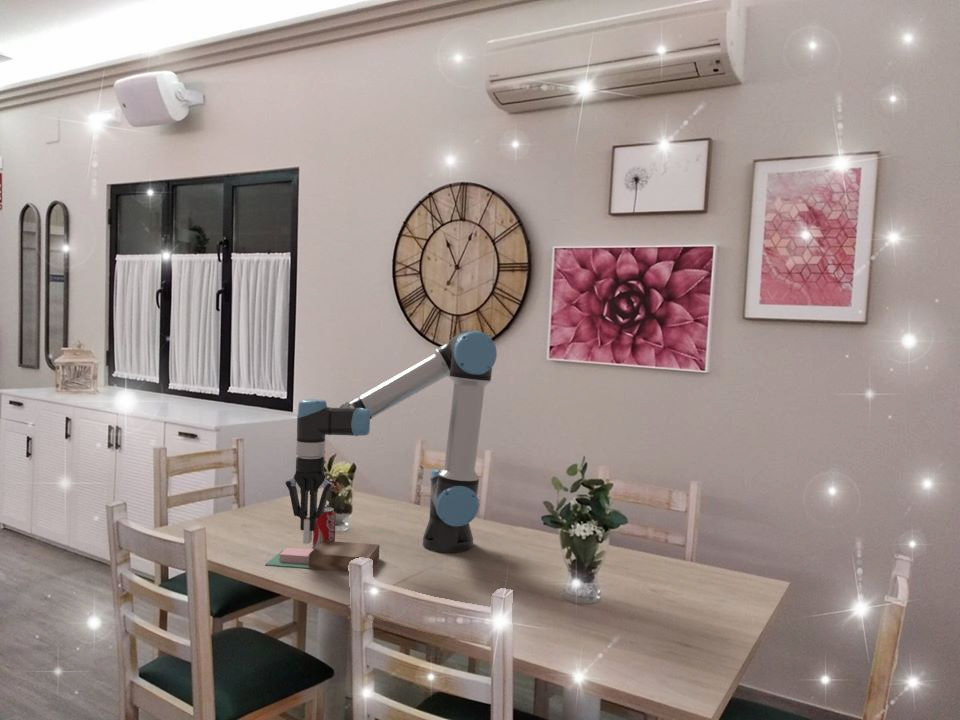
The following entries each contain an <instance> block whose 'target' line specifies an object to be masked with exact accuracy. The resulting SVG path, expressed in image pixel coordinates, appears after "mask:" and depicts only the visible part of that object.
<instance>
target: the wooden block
mask: <svg viewBox="0 0 960 720" xmlns="http://www.w3.org/2000/svg"><path fill="white" fill-rule="evenodd" d="M359 557H365V558H370V559H372V560H373V567H374V566H376V563H377V562H378V561H379V560H380V544H375V543H361V542H349V541H348V542H347V541H346V542H345V541H323V542H322V543H321V544H320V545H318V546H317V547H316V548H315V549H313V551H312V552H311V553H310V554H309V569H310V570H321V571H323V570H324V571H337V572H348V565H349V562H350V561H351V560H353V559H355V558H359Z"/></svg>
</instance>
